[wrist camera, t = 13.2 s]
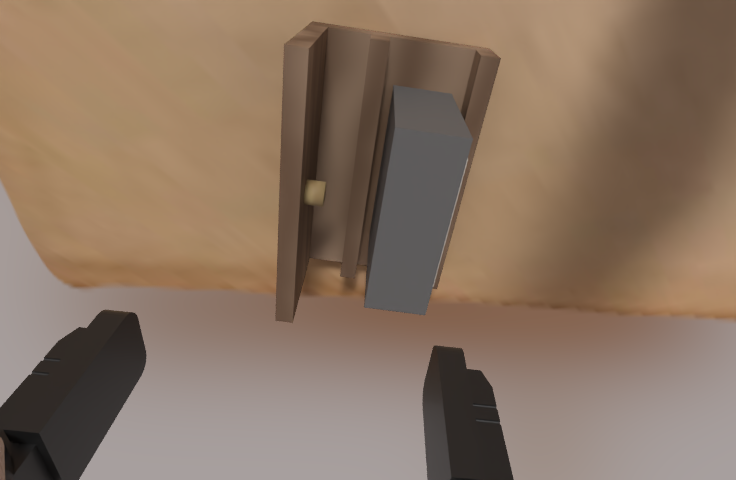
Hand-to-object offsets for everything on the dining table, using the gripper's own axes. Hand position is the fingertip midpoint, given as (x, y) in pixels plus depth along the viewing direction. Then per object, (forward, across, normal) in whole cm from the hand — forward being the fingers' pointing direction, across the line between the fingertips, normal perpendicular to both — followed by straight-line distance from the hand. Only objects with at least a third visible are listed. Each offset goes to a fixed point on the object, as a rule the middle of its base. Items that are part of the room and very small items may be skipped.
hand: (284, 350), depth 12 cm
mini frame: (+22, -4, +4) cm, 23 cm away
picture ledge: (+24, -3, +4) cm, 24 cm away
